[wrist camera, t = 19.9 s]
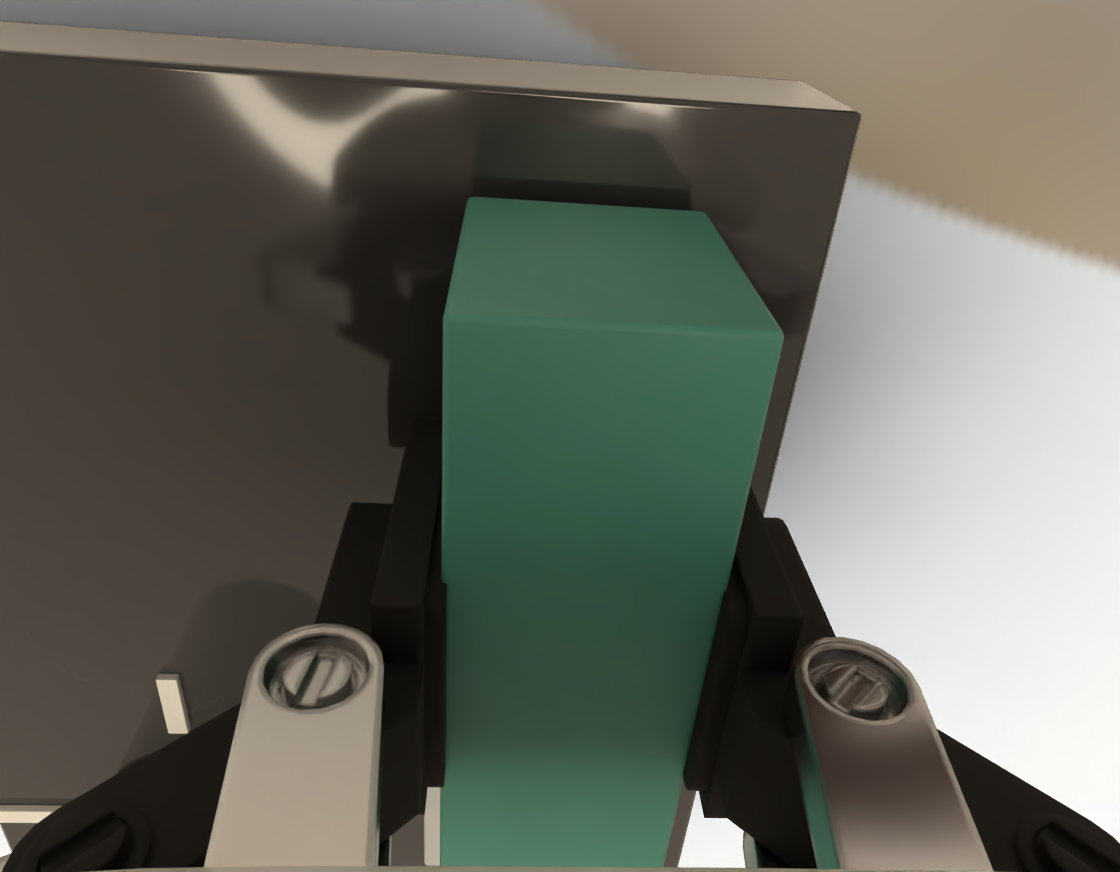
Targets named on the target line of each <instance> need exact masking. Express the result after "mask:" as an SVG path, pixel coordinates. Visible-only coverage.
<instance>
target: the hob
mask: <svg viewBox="0 0 1120 872" xmlns="http://www.w3.org/2000/svg"><path fill="white" fill-rule="evenodd" d="M860 121H861V114H860V113H859V112H857V111H855V110H853V109H852V108H850V107H848V106H846V105H845V104H843V103H841V102H839V101H837V100H836V99H834V98H832V97H830V96H828V95H827V94H825V93H823V92H821V91H820V90H818V89H816V88H814V87H812V86H811V85H809V84H807V83H805V82H803V81H795V80H781V79H768V78H753V77H740V76H727V75H713V74H701V73H687V72H674V71H661V70H647V69H634V68H620V67H607V66H594V65H580V64H567V63H554V62H540V61H527V60H513V59H500V58H487V57H473V56H460V55H446V54H433V53H420V52H406V51H393V50H379V49H366V48H353V47H339V46H326V45H313V44H299V43H286V42H272V41H259V40H246V39H232V38H219V37H205V36H192V35H179V34H165V33H152V32H139V31H125V30H112V29H98V28H85V27H72V26H58V25H45V24H31V23H18V22H5V21H0V826H1V828H2V830H3V833H4V835H5V837H6V840H7V842H8V844H9V847H10V849H11V851H13V849H14V847H15V846H16V845H17V844H18V843H19V841H20V840H21V839H22V838H23V837H24V836H25V835H26V834H27V833H28V832H29V831H30V829H31V828H32V827H33V826H34V825H36V824H37V823H38V822H40V821H41V820H43V819H44V818H45V817H47V816H48V815H50V814H51V813H52V812H54V811H55V810H57V809H58V808H60V807H62V806H63V805H65V804H67V803H68V802H70V801H72V800H74V799H75V798H77V797H79V796H80V795H82V794H84V793H86V792H87V791H89V790H91V789H93V788H94V787H96V786H98V785H99V784H101V783H103V782H105V781H106V780H108V779H110V778H111V777H113V776H115V775H117V774H118V773H120V772H122V771H123V770H125V769H127V768H129V767H130V766H132V765H134V764H135V763H137V762H139V761H141V760H142V759H144V758H146V757H147V756H149V755H151V754H153V753H154V752H156V751H158V750H159V749H161V748H163V747H165V746H166V745H168V744H170V743H172V742H173V741H175V740H177V739H178V738H180V737H182V736H184V735H185V734H187V733H189V732H190V731H192V730H194V729H196V728H197V727H199V726H201V725H202V724H204V723H206V722H208V721H209V720H211V719H213V718H214V717H216V716H218V715H220V714H221V713H223V712H225V711H226V710H228V709H230V708H232V707H233V706H235V705H237V704H239V703H240V702H242V698H243V694H244V689H245V685H246V681H247V676H248V672H249V670H250V668H251V665H252V663H253V661H254V659H255V657H256V656H257V655H258V654H259V652H260V651H261V650H262V649H263V648H264V647H265V646H266V645H267V644H268V643H269V642H271V641H272V640H274V639H276V638H277V637H279V636H280V635H282V634H283V633H286V632H288V631H291V630H294V629H296V628H299V627H302V626H307V625H313V624H314V623H315V620H316V617H317V613H318V610H319V607H320V603H321V600H322V597H323V593H324V590H325V586H326V583H327V580H328V576H329V573H330V570H331V566H332V563H333V559H334V556H335V553H336V549H337V546H338V543H339V539H340V536H341V533H342V529H343V526H344V522H345V519H346V516H347V512H348V509H349V507H350V504H351V503H353V502H362V503H389V504H393V500H394V495H395V491H396V486H397V482H398V477H399V473H400V468H401V464H402V459H403V455H404V450H405V446H406V441H407V437H408V432H409V428H410V423H411V419H412V416H428V417H442V399H443V316H444V312H445V307H446V302H447V297H448V292H449V287H450V282H451V277H452V272H453V267H454V263H455V258H456V253H457V248H458V243H459V238H460V233H461V228H462V223H463V218H464V214H465V209H466V204H467V201H468V199H469V198H471V197H486V198H502V199H517V200H532V201H548V202H563V203H578V204H594V205H609V206H625V207H640V208H655V209H671V210H686V211H701V212H704V213H706V214H707V216H708V218H709V219H710V221H711V222H712V224H713V225H714V227H715V228H716V230H717V231H718V233H719V234H720V236H721V238H722V239H723V241H724V242H725V244H726V245H727V247H728V248H729V250H730V251H731V253H732V255H733V256H734V258H735V259H736V261H737V262H738V264H739V265H740V267H741V268H742V270H743V271H744V273H745V275H746V276H747V278H748V279H749V281H750V282H751V284H752V285H753V287H754V288H755V290H756V291H757V293H758V295H759V296H760V298H761V299H762V301H763V302H764V304H765V305H766V307H767V308H768V310H769V311H770V313H771V315H772V316H773V318H774V319H775V321H776V322H777V324H778V325H779V327H780V328H781V330H782V331H783V336H784V340H783V344H782V348H781V353H780V357H779V362H778V366H777V370H776V375H775V379H774V383H773V388H772V392H771V397H770V401H769V405H768V410H767V414H766V419H765V423H764V427H763V432H762V436H761V441H760V445H759V449H758V454H757V458H756V463H755V467H754V471H753V476H752V480H751V484H750V485H751V487H752V489H753V492H754V494H755V497H756V499H757V502H758V504H759V507H760V509H761V511H762V514H763V516H764V513H765V509H766V505H767V501H768V497H769V492H770V488H771V484H772V480H773V476H774V472H775V468H776V464H777V460H778V456H779V452H780V448H781V444H782V439H783V435H784V431H785V427H786V423H787V419H788V415H789V411H790V407H791V403H792V399H793V395H794V391H795V386H796V382H797V378H798V374H799V370H800V366H801V362H802V358H803V354H804V350H805V346H806V342H807V338H808V333H809V329H810V325H811V321H812V317H813V313H814V309H815V305H816V301H817V297H818V293H819V289H820V284H821V280H822V276H823V272H824V268H825V264H826V260H827V256H828V252H829V248H830V244H831V240H832V236H833V231H834V227H835V223H836V219H837V215H838V211H839V207H840V203H841V199H842V195H843V191H844V187H845V183H846V178H847V174H848V170H849V166H850V162H851V158H852V153H853V150H854V146H855V142H856V138H857V134H858V129H859V125H860ZM695 794H696V791H688V790H687V789H686V787H685V784H684V780H683V783H682V787H681V792H680V796H679V801H678V805H677V809H676V814H675V818H674V823H673V827H672V831H671V836H670V840H669V844H668V849H667V853H666V858H665V862H664V866H663V867H673V868H678V864H679V860H680V855H681V851H682V847H683V843H684V839H685V835H686V831H687V827H688V823H689V819H690V815H691V811H692V807H693V802H694V798H695ZM391 842H392V848H391V866H429V865H425V863H424V815H417V816H415V817H414V818H413V819H412V820H410V821H409V822H408V823H407V824H405V825H404V826H403V827H401V828H400V829H399V830H398V831H396V832H395V833H394V834H393V835H391Z"/></svg>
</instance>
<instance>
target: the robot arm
mask: <svg viewBox="0 0 1120 872" xmlns="http://www.w3.org/2000/svg"><path fill="white" fill-rule="evenodd" d="M441 570H442V417H428V416H412V419H411V423H410V428H409V432H408V437H407V441H406V446H405V450H404V455H403V459H402V464H401V468H400V473H399V477H398V482H397V486H396V491H395V495H394V500H393V504H389V503H362V502H353V503H351V504H350V507H349V509H348V512H347V516H346V519H345V522H344V526H343V529H342V533H341V536H340V539H339V543H338V546H337V549H336V553H335V556H334V559H333V563H332V566H331V570H330V573H329V576H328V580H327V583H326V586H325V590H324V593H323V597H322V600H321V603H320V607H319V610H318V613H317V617H316V620H315V623H314V624H313V625H307V626H302V627H299V628H296V629H294V630H291V631H288V632H286V633H283V634H282V635H280V636H279V637H277V638H276V639H274V640H272V641H271V642H269V643H268V644H267V645H266V646H265V647H264V648H263V649H262V650H261V651H260V652H259V654H258V655H257V656H256V657H255V659H254V661H253V663H252V665H251V668H250V670H249V672H248V676H247V681H246V685H245V689H244V694H243V698H242V702H240V703H239V704H237V705H235V706H233V707H232V708H230V709H228V710H226V711H225V712H223V713H221V714H220V715H218V716H216V717H214V718H213V719H211V720H209V721H208V722H206V723H204V724H202V725H201V726H199V727H197V728H196V729H194V730H192V731H190V732H189V733H187V734H185V735H184V736H182V737H180V738H178V739H177V740H175V741H173V742H172V743H170V744H168V745H166V746H165V747H163V748H161V749H159V750H158V751H156V752H154V753H153V754H151V755H149V756H147V757H146V758H144V759H142V760H141V761H139V762H137V763H135V764H134V765H132V766H130V767H129V768H127V769H125V770H123V771H122V772H120V773H118V774H117V775H115V776H113V777H111V778H110V779H108V780H106V781H105V782H103V783H101V784H99V785H98V786H96V787H94V788H93V789H91V790H89V791H87V792H86V793H84V794H82V795H80V796H79V797H77V798H75V799H74V800H72V801H70V802H68V803H67V804H65V805H63V806H62V807H60V808H58V809H57V810H55V811H54V812H52V813H51V814H50V815H48V816H47V817H45V818H44V819H43V820H41V821H40V822H38V823H37V824H36V825H34V826H33V827H32V828H31V829H30V831H29V832H28V833H27V834H26V835H25V836H24V837H23V838H22V839H21V840H20V841H19V843H18V844H17V845H16V846H15V847H14V849H13V851H12V853H11V854H9V855H6V856H3V857H1V858H0V872H1120V844H1119V843H1118V842H1117V841H1116V839H1115V838H1114V837H1112V836H1111V835H1110V834H1108V833H1107V832H1105V831H1104V830H1103V829H1101V828H1100V827H1099V826H1097V825H1096V824H1094V823H1093V822H1092V821H1090V820H1088V819H1087V818H1085V817H1083V816H1082V815H1080V814H1078V813H1077V812H1075V811H1073V810H1072V809H1070V808H1068V807H1067V806H1065V805H1063V804H1062V803H1060V802H1058V801H1057V800H1055V799H1053V798H1052V797H1050V796H1048V795H1047V794H1045V793H1043V792H1042V791H1040V790H1038V789H1036V788H1035V787H1033V786H1031V785H1030V784H1028V783H1026V782H1025V781H1023V780H1021V779H1020V778H1018V777H1016V776H1015V775H1013V774H1011V773H1010V772H1008V771H1006V770H1005V769H1003V768H1001V767H1000V766H998V765H996V764H995V763H993V762H991V761H990V760H988V759H986V758H985V757H983V756H981V755H980V754H978V753H976V752H975V751H973V750H971V749H970V748H968V747H966V746H965V745H963V744H961V743H960V742H958V741H956V740H955V739H953V738H951V737H950V736H948V735H946V734H945V733H943V732H941V731H940V730H938V729H936V726H935V724H934V721H933V719H932V716H931V714H930V711H929V709H928V706H927V704H926V701H925V699H924V696H923V694H922V691H921V689H920V687H919V685H918V684H917V682H916V680H915V679H914V677H913V675H912V673H911V672H910V671H909V670H908V669H907V668H906V667H905V666H904V665H903V664H902V663H901V662H900V661H899V660H897V659H896V658H894V657H893V656H891V655H890V654H888V653H887V652H885V651H884V650H882V649H880V648H878V647H875V646H873V645H870V644H868V643H866V642H863V641H859V640H854V639H849V638H845V637H836V636H835V634H834V632H833V630H832V627H831V625H830V623H829V621H828V618H827V616H826V614H825V612H824V609H823V607H822V605H821V603H820V600H819V598H818V596H817V594H816V591H815V589H814V587H813V584H812V582H811V580H810V578H809V575H808V573H807V571H806V569H805V566H804V564H803V562H802V560H801V557H800V555H799V553H798V551H797V548H796V546H795V544H794V542H793V539H792V537H791V535H790V532H789V530H788V528H787V526H786V524H785V523H784V521H783V520H781V519H779V518H765V517H764V516H763V514H762V511H761V509H760V507H759V504H758V502H757V499H756V497H755V494H754V492H753V489H752V487H751V485H750V489H749V493H748V498H747V502H746V506H745V511H744V515H743V520H742V524H741V528H740V533H739V537H738V542H737V546H736V550H735V555H734V559H733V563H732V568H731V572H730V577H729V581H728V585H727V589H726V592H724V595H723V599H722V604H721V608H720V613H719V617H718V622H717V626H716V630H715V635H714V639H713V644H712V648H711V653H710V657H709V662H708V666H707V670H706V675H705V679H704V684H703V688H702V693H701V697H700V702H699V706H698V710H697V715H696V719H695V724H694V728H693V733H692V737H691V742H690V746H689V750H688V755H687V759H686V764H685V768H684V773H683V780H684V784H685V787H686V789H687V790H688V791H699V794H700V799H701V804H702V809H703V814H704V818H728V819H729V820H730V821H732V822H733V823H734V824H736V825H737V826H738V827H739V828H741V829H742V830H743V831H744V834H743V851H744V859H745V866H746V868H673V867H522V866H391V848H392V842H391V835H393V834H394V833H395V832H396V831H398V830H399V829H400V828H401V827H403V826H404V825H405V824H407V823H408V822H409V821H410V820H412V819H413V818H414V817H415V816H417V815H425V807H426V798H427V789H428V787H444V781H445V743H446V625H447V584H446V583H443V581H442V579H441Z"/></svg>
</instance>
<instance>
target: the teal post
mask: <svg viewBox="0 0 1120 872" xmlns="http://www.w3.org/2000/svg"><path fill="white" fill-rule="evenodd" d="M783 340H784V336H783V331H782V330H781V328H780V327H779V325H778V324H777V322H776V321H775V319H774V318H773V316H772V315H771V313H770V311H769V310H768V308H767V307H766V305H765V304H764V302H763V301H762V299H761V298H760V296H759V295H758V293H757V291H756V290H755V288H754V287H753V285H752V284H751V282H750V281H749V279H748V278H747V276H746V275H745V273H744V271H743V270H742V268H741V267H740V265H739V264H738V262H737V261H736V259H735V258H734V256H733V255H732V253H731V251H730V250H729V248H728V247H727V245H726V244H725V242H724V241H723V239H722V238H721V236H720V234H719V233H718V231H717V230H716V228H715V227H714V225H713V224H712V222H711V221H710V219H709V218H708V216H707V214H706V213H704V212H701V211H686V210H671V209H655V208H640V207H625V206H609V205H594V204H578V203H563V202H548V201H532V200H517V199H502V198H486V197H471V198H469V199H468V201H467V204H466V209H465V214H464V218H463V223H462V228H461V233H460V238H459V243H458V248H457V253H456V258H455V263H454V267H453V272H452V277H451V282H450V287H449V292H448V297H447V302H446V307H445V312H444V316H443V399H442V570H441V579H442V581H443V583H446V584H447V625H446V743H445V781H444V787H428V789H427V798H426V807H425V815H424V863H425V865H429V866H522V867H663V866H664V862H665V858H666V853H667V849H668V844H669V840H670V836H671V831H672V827H673V823H674V818H675V814H676V809H677V805H678V801H679V796H680V792H681V787H682V783H683V773H684V768H685V764H686V759H687V755H688V750H689V746H690V742H691V737H692V733H693V728H694V724H695V719H696V715H697V710H698V706H699V702H700V697H701V693H702V688H703V684H704V679H705V675H706V670H707V666H708V662H709V657H710V653H711V648H712V644H713V639H714V635H715V630H716V626H717V622H718V617H719V613H720V608H721V604H722V599H723V595H724V592H726V589H727V585H728V581H729V577H730V572H731V568H732V563H733V559H734V555H735V550H736V546H737V542H738V537H739V533H740V528H741V524H742V520H743V515H744V511H745V506H746V502H747V498H748V493H749V489H750V484H751V480H752V476H753V471H754V467H755V463H756V458H757V454H758V449H759V445H760V441H761V436H762V432H763V427H764V423H765V419H766V414H767V410H768V405H769V401H770V397H771V392H772V388H773V383H774V379H775V375H776V370H777V366H778V362H779V357H780V353H781V348H782V344H783Z"/></svg>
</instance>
